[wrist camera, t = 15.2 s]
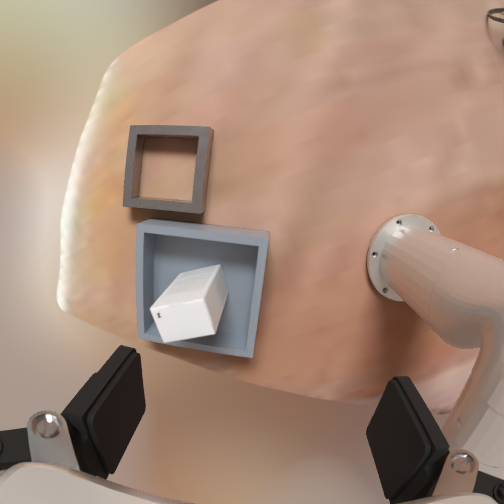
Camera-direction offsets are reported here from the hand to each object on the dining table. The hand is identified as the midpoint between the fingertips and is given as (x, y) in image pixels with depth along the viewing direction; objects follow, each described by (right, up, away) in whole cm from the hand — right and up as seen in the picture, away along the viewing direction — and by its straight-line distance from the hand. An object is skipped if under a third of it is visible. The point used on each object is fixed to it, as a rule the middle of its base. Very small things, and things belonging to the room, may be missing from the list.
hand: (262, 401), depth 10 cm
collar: (-11, +17, +28) cm, 34 cm away
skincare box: (-7, +1, +30) cm, 31 cm away
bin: (-7, +1, +31) cm, 32 cm away
